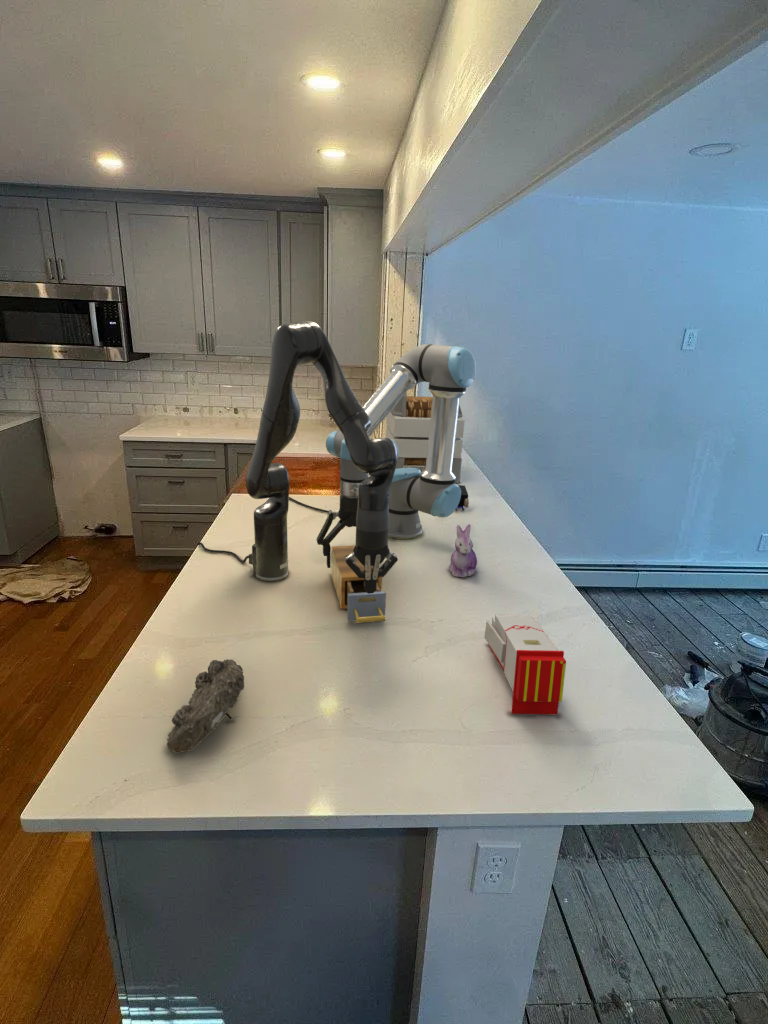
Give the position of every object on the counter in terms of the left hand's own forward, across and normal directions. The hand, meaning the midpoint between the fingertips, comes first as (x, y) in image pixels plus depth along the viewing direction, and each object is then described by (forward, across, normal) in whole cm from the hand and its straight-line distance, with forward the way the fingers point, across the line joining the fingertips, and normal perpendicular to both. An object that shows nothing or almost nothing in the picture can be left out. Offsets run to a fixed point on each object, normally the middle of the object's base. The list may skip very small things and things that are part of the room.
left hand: (369, 591), depth 136 cm
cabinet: (+10, 0, +21) cm, 24 cm away
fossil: (+10, -35, -26) cm, 45 cm away
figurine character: (+10, +53, +86) cm, 102 cm away
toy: (+10, +29, -22) cm, 38 cm away
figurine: (+10, +35, +28) cm, 46 cm away
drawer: (+9, 0, +10) cm, 14 cm away
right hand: (+6, 0, +27) cm, 28 cm away
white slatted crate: (+10, +51, +136) cm, 145 cm away
